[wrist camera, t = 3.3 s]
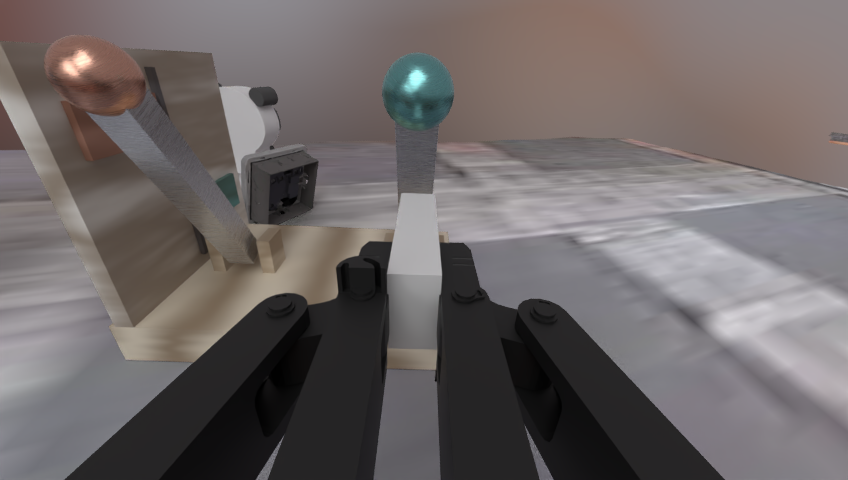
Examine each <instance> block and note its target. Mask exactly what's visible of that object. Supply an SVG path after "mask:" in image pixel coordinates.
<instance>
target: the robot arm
mask: <svg viewBox="0 0 848 480" xmlns="http://www.w3.org/2000/svg"><path fill="white" fill-rule="evenodd" d="M336 274H337V284H338V295H337V297H336V298H335V299H332V300H330V301H326V302H322V303H317V304H311V305H308V303H307V300H306V299H305V298H304V297H303V296H302V295H299V294H296V293H282V294H276V295H274V296H271V297H268V298H266V299H265V300H263V301H262V302H260V303H259V304H258V305H256V306H255V307H254V308H253V309H252V310H251V311H250V312H249V313H248V314H247V315H245V316H244V317H243V318H242V319H241V320H240V321H239V322H238V323H237V324H236V325H234V326H233V327H232V328H231V329H230V330H229V331H228V332H227V333H226V334H225V335H223V336H222V337H221V338H220V339H219V340H218V341H217V342H216V343H215V344H213V345H212V346H211V347H210V348H209V349H208V350H207V351H206V352H205V353H204V354H202V355H201V356H200V357H199V358H198V359H197V360H196V361H195V362H194V363H193V364H191V365H190V366H189V367H188V368H187V369H186V370H185V371H184V372H183V373H182V374H180V375H179V376H178V377H177V378H176V379H175V380H174V381H173V382H172V383H171V384H169V385H168V386H167V387H166V388H165V389H164V390H163V391H162V392H161V393H159V394H158V395H157V396H156V397H155V398H154V399H153V400H152V401H151V402H150V403H148V404H147V405H146V406H145V407H144V408H143V409H142V410H141V411H140V412H139V413H137V414H136V415H135V416H134V417H133V418H132V419H131V420H130V421H129V422H128V423H126V424H125V425H124V426H123V427H122V428H121V429H120V430H119V431H118V432H117V433H115V434H114V435H113V436H112V437H111V438H110V439H109V440H108V441H107V442H106V443H104V444H103V445H102V446H101V447H100V448H99V449H98V450H97V451H96V452H94V453H93V454H92V455H91V456H90V457H89V458H88V459H87V460H86V461H85V462H83V463H82V464H81V465H80V466H79V467H78V468H77V469H76V470H75V471H74V472H72V473H71V474H70V475H69V476H68V477H67V478H66V479H65V480H256V478H257V477H258V475H259V473H260V472H261V470H262V469H263V467H264V466H265V464H266V462H267V461H268V459H269V458H270V456H271V455H272V453H273V451H274V450H275V448H276V447H277V445H278V443H279V442H280V440H281V439H282V437H283V436H284V438H283V440H282V443H281V446H280V448H279V451H278V454H277V456H276V459H275V462H274V464H273V467H272V470H271V472H270V475H269V478H268V480H373V478H374V469H375V461H376V453H377V445H378V436H379V428H380V420H381V412H382V403H383V395H384V387H385V379H386V370H387V348H395V349H433V350H437V361H436V375H435V381H437V393H438V420H439V446H440V473H441V480H539V476H538V472H537V469H536V465H535V462H534V458H533V454H532V451H531V447H530V444H529V440H528V436H527V433H526V429H525V426H526V428H527V430H528V432H529V434H530V435H531V437H532V439H533V441H534V443H535V445H536V447H537V449H538V451H539V452H540V454H541V456H542V458H543V460H544V462H545V464H546V466H547V467H548V469H549V471H550V473H551V475H552V477H553V479H554V480H725V479H724V478H723V477H722V476H721V475H720V474H719V473H718V472H717V471H716V470H715V469H714V468H713V467H712V466H711V465H710V463H709V462H708V461H707V460H706V459H705V458H704V457H703V456H702V455H701V454H700V453H699V452H698V451H697V450H696V449H695V448H694V447H693V445H692V444H691V443H690V442H689V441H688V440H687V439H686V438H685V437H684V436H683V435H682V434H681V433H680V432H679V431H678V430H677V428H676V427H675V426H674V425H673V424H672V423H671V422H670V421H669V420H668V419H667V418H666V417H665V416H664V415H663V414H662V413H661V411H660V410H659V409H658V408H657V407H656V406H655V405H654V404H653V403H652V402H651V401H650V400H649V399H648V398H647V397H646V396H645V395H644V393H643V392H642V391H641V390H640V389H639V388H638V387H637V386H636V385H635V384H634V383H633V382H632V381H631V380H630V379H629V378H628V376H627V375H626V374H625V373H624V372H623V371H622V370H621V369H620V368H619V367H618V366H617V365H616V364H615V363H614V362H613V361H612V360H611V358H610V357H609V356H608V355H607V354H606V353H605V352H604V351H603V350H602V349H601V348H600V347H599V346H598V345H597V344H596V343H595V341H594V340H593V339H592V338H591V337H590V336H589V335H588V334H587V333H586V332H585V331H584V330H583V329H582V328H581V327H580V326H579V324H578V323H577V322H576V321H575V320H574V319H573V318H572V317H571V316H570V315H569V314H568V313H567V312H566V311H565V310H564V309H563V308H561V307H560V306H559V305H557V304H555V303H552V302H550V301H547V300H542V299H529V300H525V301H523V302H522V303H521V304H520V305H519V306H518V310H517V309H512V308H508V307H504V306H501V305H498V304H496V303H494V302H492V301H490V300H489V296H488V295H487V293H486V291H485V290H483V289H482V288H481V287H480V285H479V281H478V277H477V273H476V269H475V266H474V261H473V257H472V254H471V250H470V249H469V248H468V247H467V246H466V245H465V244H464V243H445V242H439V234H438V222H437V211H436V199H435V194H416V193H401V199H400V204H399V210H398V215H397V221H396V226H395V232H394V237H393V242H383V241H369V242H367V243H366V244H365V245H364V246H363V247H361V250H360V253H359V256H354V257H350V258H346V259H345V260H343V261H341V262H340V263H339V264H338V265H337V266H336ZM524 424H525V426H524ZM284 434H285V435H284Z"/></svg>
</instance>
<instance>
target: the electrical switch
mask: <svg viewBox="0 0 848 480" xmlns="http://www.w3.org/2000/svg"><path fill="white" fill-rule="evenodd" d="M317 169H318V160H316V159H314V158H312V157H311V156H310V155H308V154H307V148H306V147H305V146H304V145H302V144H296V145H291V146H286V147H282V148H277V149H272V150H268V151H263V152H258V153H254V154H249V155H245V156H244V157H243V158H242V160H241V190H242V195H243V199H244V204H245V208H246V213H247V218H248V222H249V224H251V223H254V222H257V223H258V224H268V225H278V224H280V223H282V222H284V221H287V220H289V219H291V218H294V217H296V216H298V215H300V214H303V213H305V212H307V211H309V210H311V209H312V207H313V200H314V192H315V184H316V177H317ZM307 175H308V176H307ZM306 179H307V180H308V182H307V184H306ZM310 208H311V209H310ZM281 211H284V212H285V214H281ZM289 211H290V212H291V213H290V212H289ZM301 211H302V212H301ZM295 213H296V214H295ZM275 214H276V215H275ZM278 215H279V216H278Z"/></svg>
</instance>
